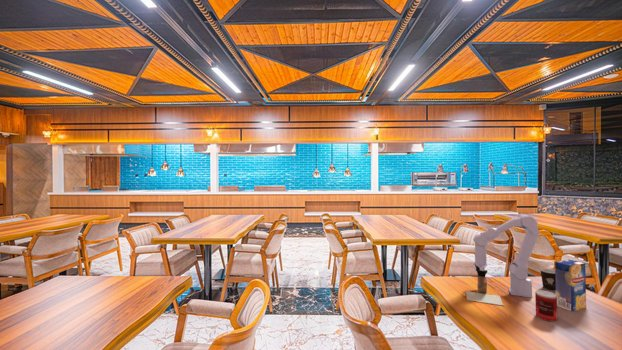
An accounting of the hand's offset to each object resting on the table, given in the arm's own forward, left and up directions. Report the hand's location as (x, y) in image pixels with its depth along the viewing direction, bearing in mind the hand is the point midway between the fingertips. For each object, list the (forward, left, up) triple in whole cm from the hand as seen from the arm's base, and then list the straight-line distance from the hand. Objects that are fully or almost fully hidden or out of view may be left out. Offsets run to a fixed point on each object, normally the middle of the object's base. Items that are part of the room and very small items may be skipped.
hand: (481, 279), depth 162 cm
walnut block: (0, +4, -5) cm, 6 cm away
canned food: (-24, +23, -6) cm, 34 cm away
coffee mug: (-37, -18, -6) cm, 41 cm away
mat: (0, +12, -6) cm, 14 cm away
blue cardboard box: (-38, +5, -6) cm, 39 cm away
